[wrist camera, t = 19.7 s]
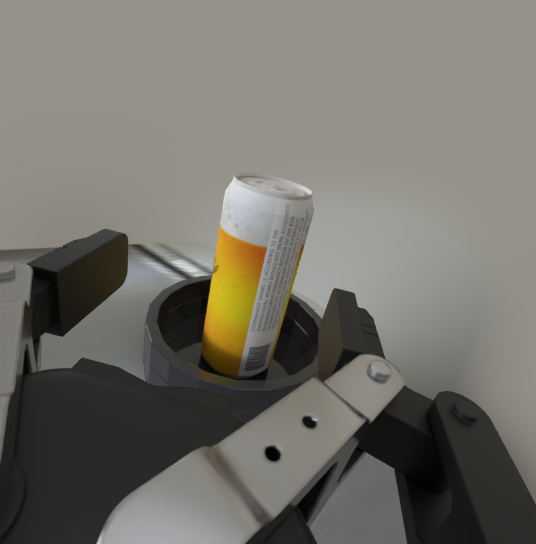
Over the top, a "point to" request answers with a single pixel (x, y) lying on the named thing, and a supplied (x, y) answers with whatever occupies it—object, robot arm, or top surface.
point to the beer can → (254, 271)
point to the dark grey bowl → (196, 370)
